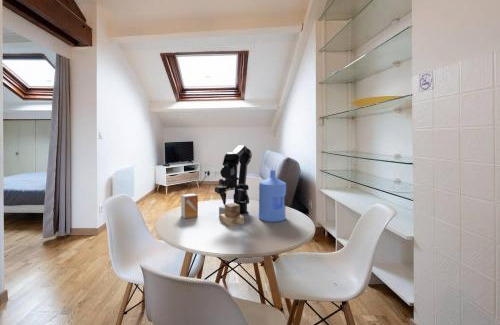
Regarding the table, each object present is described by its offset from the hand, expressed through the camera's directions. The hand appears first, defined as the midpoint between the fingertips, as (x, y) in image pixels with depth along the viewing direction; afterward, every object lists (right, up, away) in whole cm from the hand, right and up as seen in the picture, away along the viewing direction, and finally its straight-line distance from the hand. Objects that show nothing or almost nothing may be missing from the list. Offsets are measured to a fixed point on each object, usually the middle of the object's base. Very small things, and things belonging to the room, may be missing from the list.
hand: (231, 203), depth 140 cm
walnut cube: (0, -7, +1) cm, 7 cm away
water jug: (+23, -10, +9) cm, 26 cm away
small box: (-26, -9, +10) cm, 29 cm away
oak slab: (0, -11, +1) cm, 11 cm away
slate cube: (-4, -9, +11) cm, 15 cm away
